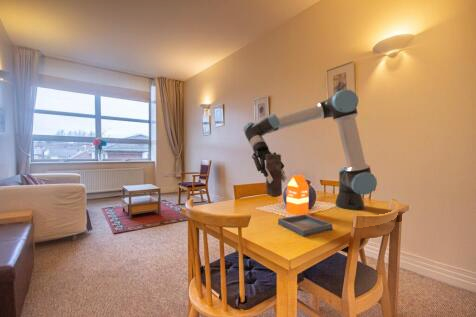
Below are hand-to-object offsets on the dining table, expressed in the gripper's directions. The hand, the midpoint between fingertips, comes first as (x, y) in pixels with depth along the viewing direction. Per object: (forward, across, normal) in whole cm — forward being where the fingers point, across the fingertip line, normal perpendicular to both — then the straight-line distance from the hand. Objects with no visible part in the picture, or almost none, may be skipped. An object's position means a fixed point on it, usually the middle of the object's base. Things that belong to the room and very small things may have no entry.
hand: (278, 180), depth 104 cm
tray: (+21, -6, -6) cm, 23 cm away
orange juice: (+9, -18, -19) cm, 28 cm away
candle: (+3, 0, -8) cm, 9 cm away
